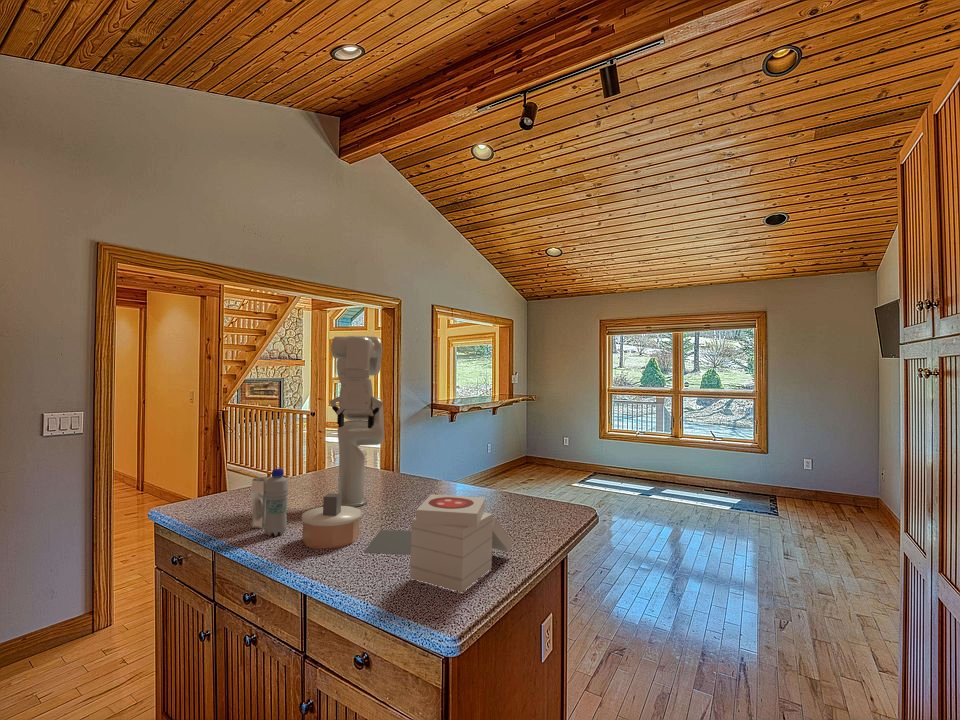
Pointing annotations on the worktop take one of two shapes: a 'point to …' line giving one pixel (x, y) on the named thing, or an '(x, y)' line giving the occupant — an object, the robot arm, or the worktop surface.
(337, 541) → the bowl
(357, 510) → the lid
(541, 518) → the worktop surface
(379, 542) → the mat
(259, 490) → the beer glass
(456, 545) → the pizza boxes
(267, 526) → the bottle
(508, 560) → the worktop surface
